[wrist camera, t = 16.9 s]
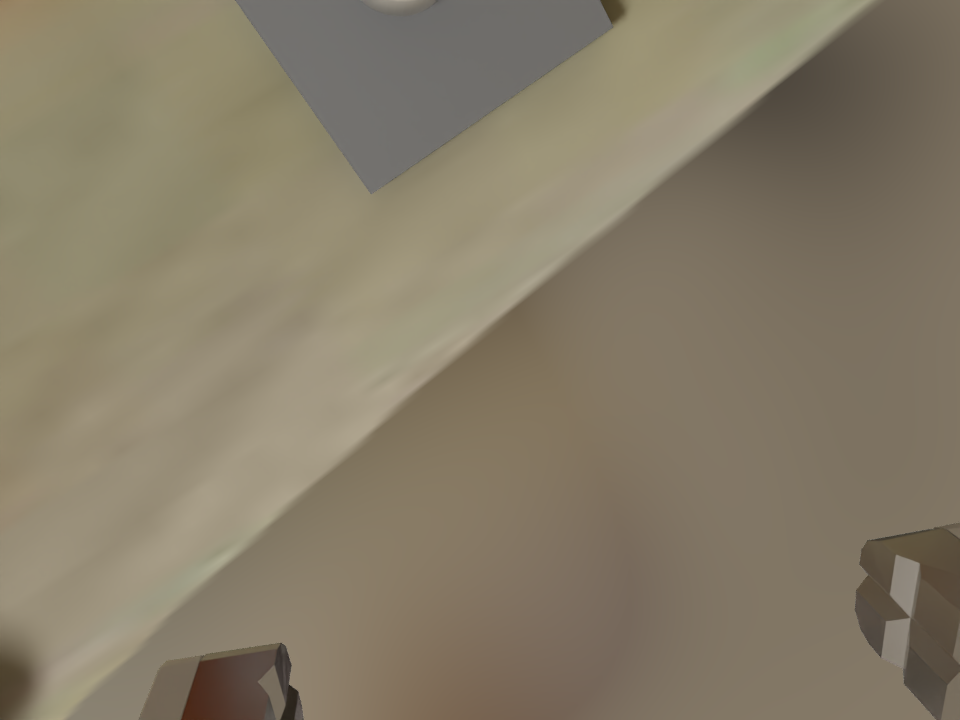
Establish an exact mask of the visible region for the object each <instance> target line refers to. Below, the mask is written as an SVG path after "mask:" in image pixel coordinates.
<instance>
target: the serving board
mask: <svg viewBox="0 0 960 720" xmlns="http://www.w3.org/2000/svg"><path fill="white" fill-rule="evenodd" d="M235 1H236V2H237V4H238V5H239V6H240V8H241V9H242V11H243V12H244V14H245V15H246V16H247V18H248V19H249V21H250V22H251V24H252V25H253V26H254V28H255V29H256V31H257V32H258V34H259V35H260V36H261V38H262V39H263V41H264V42H265V44H266V45H267V46H268V48H269V49H270V51H271V52H272V54H273V55H274V56H275V58H276V59H277V61H278V62H279V64H280V65H281V66H282V68H283V69H284V71H285V72H286V74H287V75H288V76H289V78H290V79H291V81H292V82H293V84H294V85H295V86H296V88H297V89H298V91H299V92H300V94H301V95H302V96H303V98H304V99H305V101H306V102H307V103H308V105H309V106H310V108H311V109H312V111H313V112H314V113H315V115H316V116H317V118H318V119H319V121H320V122H321V123H322V125H323V126H324V128H325V129H326V131H327V132H328V133H329V135H330V136H331V138H332V139H333V141H334V142H335V143H336V145H337V146H338V148H339V149H340V151H341V152H342V153H343V155H344V156H345V158H346V159H347V161H348V162H349V163H350V165H351V166H352V168H353V169H354V171H355V172H356V173H357V175H358V176H359V178H360V179H361V181H362V182H363V183H364V185H365V186H366V188H367V189H368V191H369V192H370V193H371V194H372V193H374V192H375V191H377V190H378V189H380V188H381V187H383V186H384V185H386V184H387V183H388V182H390V181H391V180H393V179H394V178H396V177H397V176H399V175H400V174H401V173H403V172H404V171H406V170H407V169H409V168H410V167H412V166H413V165H414V164H416V163H417V162H419V161H420V160H422V159H423V158H425V157H426V156H427V155H429V154H430V153H432V152H433V151H435V150H436V149H438V148H439V147H440V146H442V145H443V144H445V143H446V142H448V141H449V140H451V139H452V138H454V137H455V136H456V135H458V134H459V133H461V132H462V131H464V130H465V129H467V128H468V127H469V126H471V125H472V124H474V123H475V122H477V121H478V120H480V119H481V118H482V117H484V116H485V115H487V114H488V113H490V112H491V111H493V110H494V109H495V108H497V107H498V106H500V105H501V104H503V103H504V102H506V101H507V100H508V99H510V98H511V97H513V96H514V95H516V94H517V93H519V92H520V91H522V90H523V89H524V88H526V87H527V86H529V85H530V84H532V83H533V82H535V81H536V80H537V79H539V78H540V77H542V76H543V75H545V74H546V73H548V72H549V71H550V70H552V69H553V68H555V67H556V66H558V65H559V64H561V63H562V62H563V61H565V60H566V59H568V58H569V57H571V56H572V55H574V54H575V53H576V52H578V51H579V50H581V49H582V48H584V47H585V46H587V45H588V44H590V43H591V42H592V41H594V40H595V39H597V38H598V37H600V36H601V35H603V34H604V33H605V32H607V31H608V30H610V29H611V28H613V25H612V23H611V21H610V19H609V17H608V15H607V13H606V11H605V9H604V7H603V5H602V3H601V1H600V0H437V1H436V2H435V3H434V4H433V5H432V6H430V7H429V8H427V9H426V10H424V11H422V12H420V13H417V14H414V15H410V16H402V17H401V16H390V15H386V14H383V13H380V12H377V11H375V10H373V9H372V8H370V7H369V6H367V5H366V4H364V3H363V2H362V1H361V0H235Z"/></svg>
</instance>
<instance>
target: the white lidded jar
mask: <svg viewBox="0 0 960 720" xmlns="http://www.w3.org/2000/svg"><path fill="white" fill-rule="evenodd" d="M361 1H362V2H363V3H364V4H366V5H367V6H369V7H370V8H372V9H373V10H375V11H377V12H380V13H383V14H386V15H390V16H401V17H402V16H410V15H414V14H417V13H420V12H422V11H424V10H426V9H427V8H429V7H430V6H432V5H433V4H434V3H435V2H436V1H437V0H361Z"/></svg>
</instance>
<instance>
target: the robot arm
mask: <svg viewBox="0 0 960 720" xmlns="http://www.w3.org/2000/svg"><path fill="white" fill-rule="evenodd" d="M860 566H861V567H862V568H863V570H864V571H865V572H866V573H867V574H868V576H867V577H866V578H865V580H864V581H863V582H862V583H861V585H860V586H859V587H858V589H857V590H856V602H855V612H856V615H857V619H858V622H859V625H860V629H861V631H862V633H863V634H864V636H865V638H866V640H867V641H868V643H869V645H870V646H871V647H872V648H873V649H874V650H875V652H876V653H877V654H878V655H879V656H880V657H881V658H882V659H884V660H886V661H888V662H890V663H892V664H894V665H896V666H899V667H901V668H902V669H903V676H904V677H903V678H904V684H905V686H906V687H907V688H908V689H909V690H910V691H911V692H912V693H913V694H914V696H915V697H916V698H917V699H918V700H919V701H920V702H921V703H922V704H923V705H924V707H925V708H926V709H927V710H928V711H929V712H930V713H931V714H932V716H933V717H934V718H935V719H936V720H960V523H955V524H950V525H945V526H940V527H935V528H933V529H927V530H922V531H916V532H911V533H905V534H900V535H894V536H889V537H883V538H878V539H872V540H867V542H866V543H865V545H864V547H863V548H862V549H861V556H860ZM291 666H292V665H291V662H290V658H289V655H288V652H287V648H286V646H285V645H284V644H282V643H277V644H269V645H263V646H256V647H249V648H243V649H236V650H230V651H223V652H216V653H210V654H206V655H205V656H204V655H203V656H195V657H188V658H182V659H175V660H168V661H166V662H165V663H164V664H163V665H162V666H161V667H160V668H159V670H158V671H157V674H156V676H155V679H154V681H153V684H152V686H151V689H150V691H149V694H148V697H147V699H146V702H145V704H144V707H143V709H142V712H141V714H140V717H139V720H304V718H303V711H302V705H301V700H300V696H299V692H298V691H297V690H296V689H295V688H293V687H292V686H290V685H289V679H290V672H291Z"/></svg>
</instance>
